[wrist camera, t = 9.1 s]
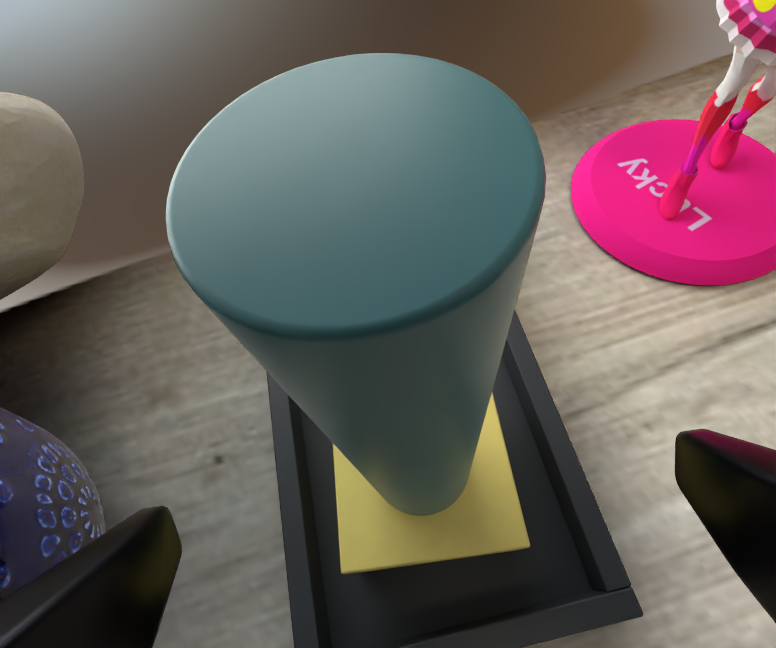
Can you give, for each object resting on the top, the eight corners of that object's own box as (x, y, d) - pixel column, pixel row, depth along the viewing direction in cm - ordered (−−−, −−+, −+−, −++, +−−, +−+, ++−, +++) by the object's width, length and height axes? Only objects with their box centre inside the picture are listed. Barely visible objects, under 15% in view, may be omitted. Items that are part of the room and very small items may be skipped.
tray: (618, 609, 14) (645, 616, 12) (318, 687, 14) (299, 705, 12) (459, 214, 22) (460, 182, 20) (268, 262, 22) (252, 234, 20)
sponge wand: (515, 550, 14) (950, 464, 2) (359, 572, 14) (-120, 618, 2) (480, 400, 17) (580, -60, 4) (347, 420, 17) (85, 36, 5)
